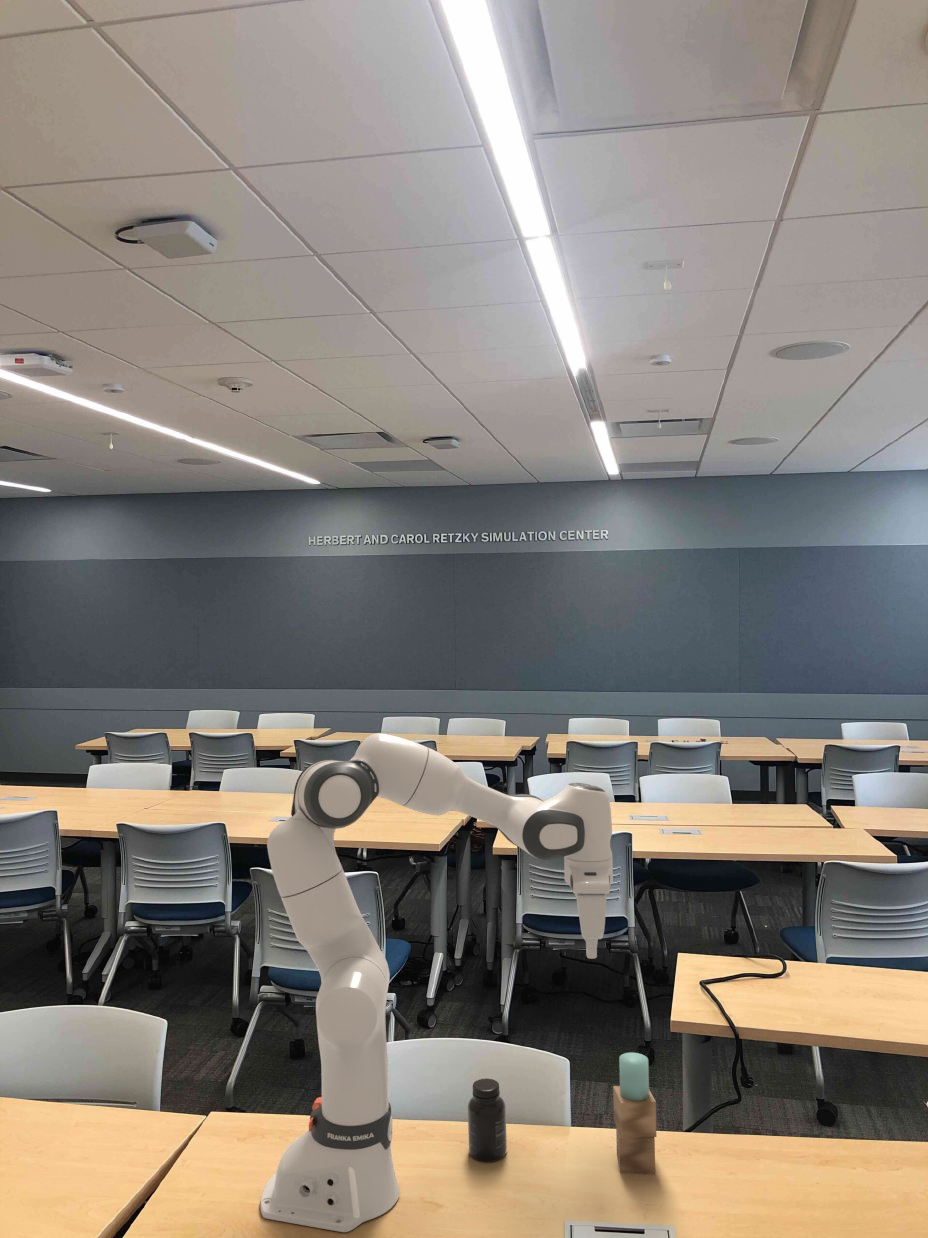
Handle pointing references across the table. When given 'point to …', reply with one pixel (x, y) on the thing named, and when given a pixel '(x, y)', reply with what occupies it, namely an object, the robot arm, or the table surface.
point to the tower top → (634, 1116)
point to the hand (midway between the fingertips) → (589, 948)
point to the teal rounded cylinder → (634, 1076)
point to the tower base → (636, 1155)
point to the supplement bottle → (487, 1122)
